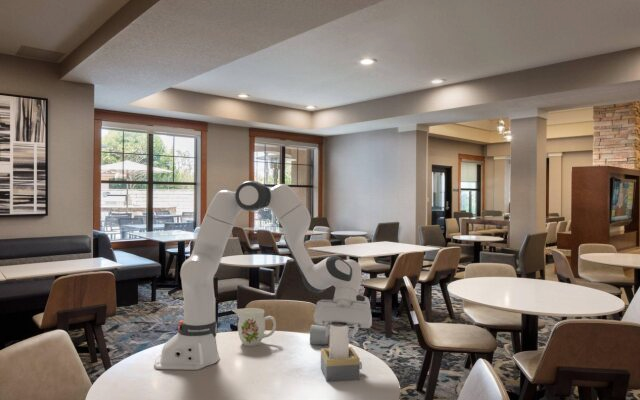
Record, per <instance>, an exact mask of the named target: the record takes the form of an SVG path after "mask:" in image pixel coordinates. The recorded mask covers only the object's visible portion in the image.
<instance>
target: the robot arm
mask: <svg viewBox="0 0 640 400" xmlns="http://www.w3.org/2000/svg"><path fill="white" fill-rule="evenodd" d="M263 209H269V210H270V211H271V212H272V214H273V215H274V216H275V218H276V219H277V221H278V222H279V224H280V225H281V228H282V230H283V234H284V237H283V238H284V241H285V244H286V247H287V249H288V250H289V253H290V254H291V257H292V259H293V261H294V263H295V264H296V266H297V269H298V271H299V273H300V275H301V278H302V281H303V284H304V286H305V288H307V290H309V291H310V292H311V293H314V294H321V293H323V292H324V291H326V290H327V289H328V288H330V287H332V286H333V287H334V288H335V290H334V295H333V299H323V298H322V299H320V300H318V301H317V302H316V305H315V311H314V313H313V320H314V321H313V322H315V325H321V326H325V328H326V336H330V330H329V329H328V328H329V327H330V326H331V323H332V322H342V323H347V326H348V328H353V329H352V330H349V339H355V335H356V333H357V332H358V331H359V329H370V328H371V327H372V323H373V320H372V318H373V317H372V311H371V302H370V299H369V297H367V296H365V295H363V294H360V292H359V290H360V288H361V285H362V274H363V273H362V268H361V265H360V264H359V263H358V262H357V261H356V260H354V259H342V258H341V257H339V256H338V255H330V256H328V257H325V258H324V259H323V260H321V261H319V262H318V263H316V264H315V263H314V262H313V260H312V259H311V256H310V255H309V253H308V251H307V249H306V247H305V244H304V243H305V236H306V234H307V232H308V231H309V228H310V226H311V222H312V219H311V217H312V216H311V214H310V211H309V210H308V208H307V207H306V205H305V204H304V203H303V201H302V199H301V198H300V197H299V195H297V193H296V192H295V191H294V190H293V189H292V188H291V187H290V186H289V185H287V184H285V183H281V184H276V185H274V186H272V187H271V188H269V187H267V186H265V185H264V184H263V183H261V182H259V181H255V180H247V181H243V182H242V183H241V184H240V185H238V186H237V188H236V191H232V190H227V189H223V190H219V191H217V192H216V193H215V195H214V197H213V198H212V200H211V201H210V204H209V205H208V207H207V210H206V212H205V214H204V217H203V220H202V222H201V224H200V226H199V229H198V231H197V233H196V239H195V242H194V246H193V249H192V251H191V254H190V256H189V257H188V258H187V259H185V260H184V261H183V263H182V264H181V268H180V272H179V275H180V280H181V288H182V289H181V290H182V295H183V320H179V322H177V323H178V324H177V325H178V326H177V333H176V334H175V335H173V336H172V337H171V338H170V339H168V340H167V341H166V342H165V343H164V345H163V346H162V350H161V352H160V353H161V354H159V355H158V356H157V357H156V359H154V368H155V369H156V370H180V371H181V370H185V371H187V370H188V371H189V370H190V371H191V370H192V371H193V370H195V371H196V370H201V369H204V368H205V367H208V366H211V365H214V364H215V363H217V362H218V361H219V360H220V359H221V358H220V355H219V351H218V345H217V338H216V337H217V331H218V326H217V320H216V297H215V296H216V295H215V289H214V287H215V285H214V277H215V276H216V275H215V274H217V272H218V269H219V266H220V264H221V261H222V258H223V255H224V252H225V249H226V246H227V245H228V244H227V243H228V241H229V238H230V236H231V233H232V231H233V228H234V226H235V224H236V221H237V219H238V216H239V215H240V213H241V212H242V211H243V212H244V211H246V212H247V211H248V212H253V213H255V212H259V211H262V210H263Z"/></svg>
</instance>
